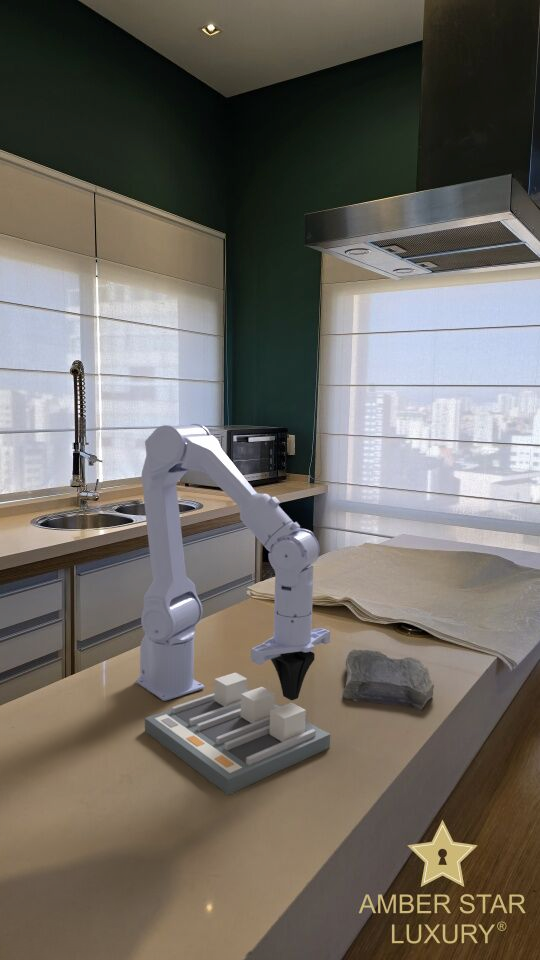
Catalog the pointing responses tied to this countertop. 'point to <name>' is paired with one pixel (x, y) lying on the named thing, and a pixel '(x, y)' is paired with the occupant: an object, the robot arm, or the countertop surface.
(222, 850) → the countertop surface
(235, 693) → the tab left
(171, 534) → the robot arm
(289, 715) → the tab right
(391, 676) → the grey rock
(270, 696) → the tab middle
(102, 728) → the countertop surface
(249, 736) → the switch panel
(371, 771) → the countertop surface
